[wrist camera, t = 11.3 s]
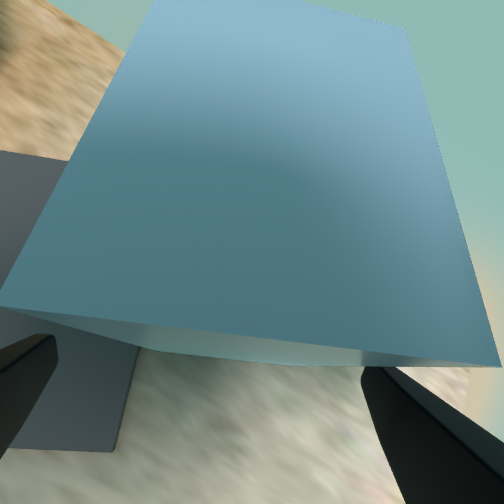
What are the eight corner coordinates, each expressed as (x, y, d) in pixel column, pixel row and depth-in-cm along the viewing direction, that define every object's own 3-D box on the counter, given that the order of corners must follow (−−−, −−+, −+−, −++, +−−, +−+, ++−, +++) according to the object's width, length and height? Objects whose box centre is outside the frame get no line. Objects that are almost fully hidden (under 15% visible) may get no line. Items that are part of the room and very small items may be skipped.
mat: (114, 450, 12) (111, 452, 12) (-211, 435, 11) (-226, 438, 10) (179, 182, 19) (178, 179, 18) (-15, 151, 17) (-20, 147, 17)
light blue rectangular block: (287, 365, 15) (501, 367, 4) (157, 351, 14) (-8, 305, 3) (292, 220, 19) (404, 28, 8) (193, 202, 18) (171, -34, 7)
